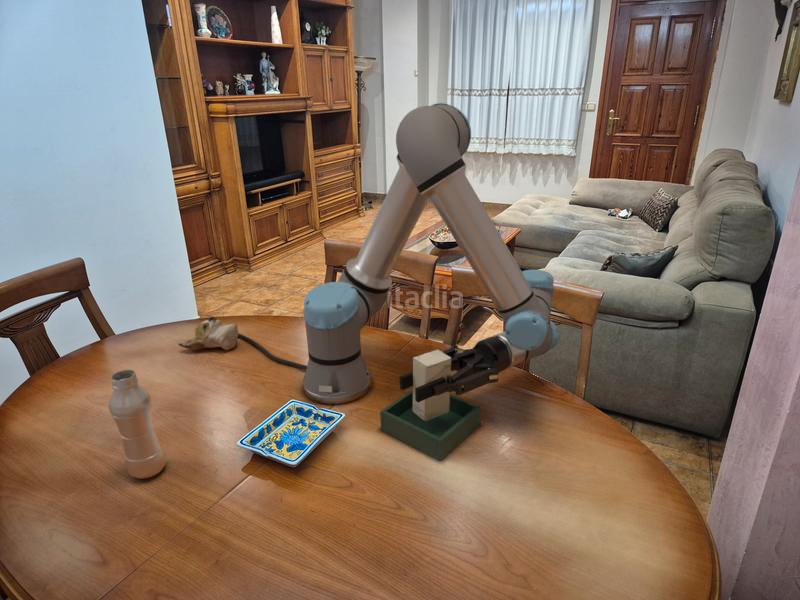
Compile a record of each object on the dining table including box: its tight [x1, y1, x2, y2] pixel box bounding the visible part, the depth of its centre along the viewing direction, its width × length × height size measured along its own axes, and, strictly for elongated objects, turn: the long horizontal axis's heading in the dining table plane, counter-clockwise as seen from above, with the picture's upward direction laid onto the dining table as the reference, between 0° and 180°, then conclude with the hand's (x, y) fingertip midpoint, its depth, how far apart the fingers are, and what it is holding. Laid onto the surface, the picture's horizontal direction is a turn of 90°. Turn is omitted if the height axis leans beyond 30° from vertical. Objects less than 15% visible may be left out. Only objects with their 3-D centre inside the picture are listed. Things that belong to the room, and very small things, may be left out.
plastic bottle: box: [108, 369, 167, 480], centre depth 88 cm, size 6×7×20 cm
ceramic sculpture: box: [178, 317, 239, 351], centre depth 135 cm, size 11×9×15 cm
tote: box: [379, 388, 482, 462], centre depth 102 cm, size 15×14×4 cm
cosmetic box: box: [412, 349, 452, 421], centre depth 99 cm, size 6×4×12 cm
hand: (408, 389), depth 95 cm, fingers closed on cosmetic box, 4 cm apart
